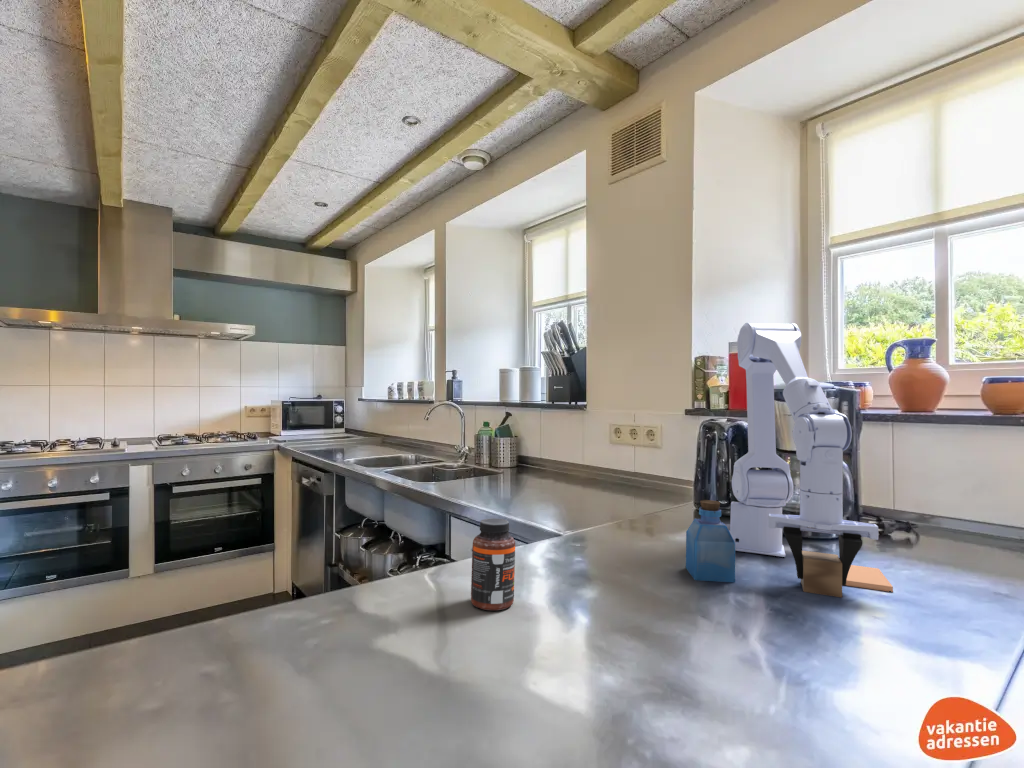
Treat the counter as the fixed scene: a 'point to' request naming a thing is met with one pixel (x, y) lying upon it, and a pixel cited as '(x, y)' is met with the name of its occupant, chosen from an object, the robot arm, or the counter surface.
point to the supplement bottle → (493, 566)
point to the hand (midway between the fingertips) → (820, 579)
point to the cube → (822, 573)
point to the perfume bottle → (710, 546)
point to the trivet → (868, 578)
